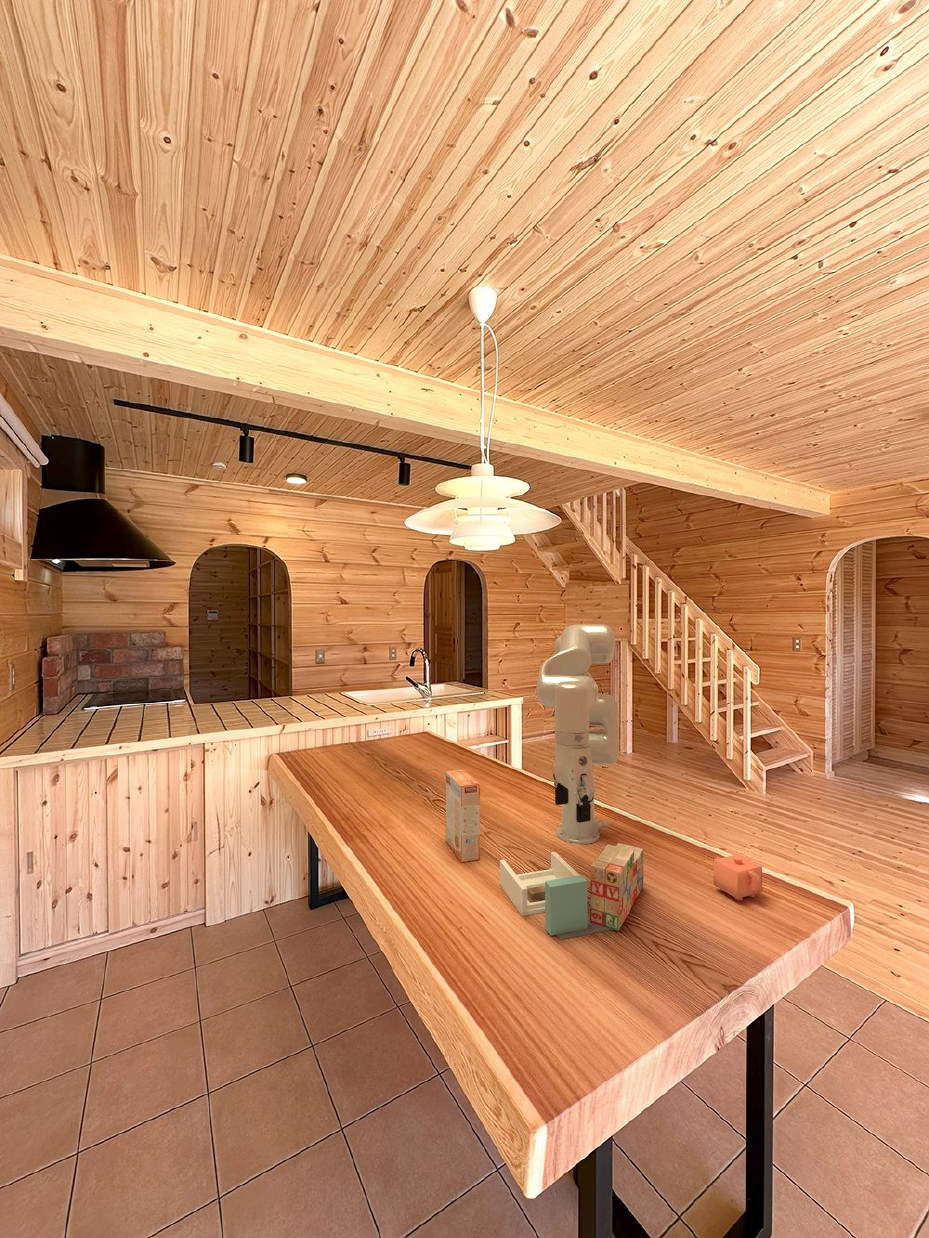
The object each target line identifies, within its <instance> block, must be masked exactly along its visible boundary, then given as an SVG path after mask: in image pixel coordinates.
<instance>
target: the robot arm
mask: <svg viewBox="0 0 929 1238" xmlns="http://www.w3.org/2000/svg"><path fill="white" fill-rule="evenodd" d="M553 647H554V655H552V656H550V657H549V658H548V659H546V660H545V661H544V662H543V663H542V664H541V666H540V668H539V671H538V676H537V682H536V691H535V692H536V693H535V694H536V698H537V701H538V702H539V704H540V705H542V706H544V707H549V708H554V744H555V747H554V759H553V760H554V762H553V763H552V764H551V768H552V773H553V774H552V777H553V780H554V782H553V785H554V803H555V805H556V806H560V805H561V825H560V826H558V827H557V828H556V836H557V837H558V838H559V839H560V840H561V841H563V842H564V841H565V842H568V843H570V844H577V845H578V844H580V845H590V844H593V843H596V842H598V841H599V840H600V837H601V836H600V834H601V833H600V831H599V830H601V829H605V828H609V827H610V822H609V821H608V820H601V819H600V818H595V793H596V788H595V777H594V771H593V770H594V769H593V764H594V765H614V764H616V763H617V762H618V760H619V757H620V730H619V729H620V727H619V722H620V721H619V720H620V719H619V718H620V717H619V707H618V706H619V705H618V702H617V699H616V698H615V697H614V696H613V695H611V694H605V693H599V687H598V684H597V683H596V681H595V679H594V678H593V677H592V675H591V673H590V672H589V669H590V667H591V665H592V664H598V665H599V664H601V665H603V664H604V665H605V664H609V663H612V661H613V659H614V656H615V649H616V637H615V633H614V631H613V629H612V627H611V626H609V625H607V624H598V623H597V624H595V623H593V624H592V623H589V624H588V623H587V624H586V623H585V624H583V623H581V624H580V623H579V624H578V623H577V624H576V623H575V624H571V625H568V626H566V627H565V628H564V629H563V631H562V633H561V635H560V636H559V637H557V638H556V639H555V641H554V646H553ZM590 726H591V727H600V728H601V729H603V730H591V729H590Z"/></svg>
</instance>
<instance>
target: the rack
mask: <svg viewBox="0 0 929 1238" xmlns="http://www.w3.org/2000/svg"><path fill="white" fill-rule="evenodd" d="M578 875H580V874H579V873H578V872H577V871H576V870H575V869H574V868H573V867H572V866H571V865H570V864H568V862H566V861H565V859H564V858H562V857H561V855H559V854H558V853H557V852H556V851H552V852H550V868H549V869H544V870H538V871H532V872H526V873H525V872H524V873H519V874H516V872H514V870H513V869H512V868H511V866H510V865H509V864H508V863H507V861H506V859H500V860H499V885H500V887H501V888H502V890H503V891H504V892H505V893H506V895H507V896H508V898H509V900H511V902H512V903H513V906H514V907H515V908H516V909H517V911H518V912H519V913H520V915H521V916H522V917H525V916H529V915H536V914H537V915H538V914H542V913H545V900H544V901H538V902H533V903H530V902H529V901H528V900H527V888H532V887H538V886H544V887H545V881H549V880H555V879H560V878H566V877H572V876H578Z"/></svg>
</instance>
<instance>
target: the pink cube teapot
mask: <svg viewBox="0 0 929 1238" xmlns="http://www.w3.org/2000/svg"><path fill="white" fill-rule="evenodd" d="M713 885H714V886H715V887H717V888H719V889H720V891H721V892H723V893H727V894H728V895H730V896H732V897H733V898H734V899H735V901H740V902H742V901H743V900H744V899H743V898H746V897H749V898H756V895H757V894H760V893H763V866H761V865H760V864H758V863H756V862H754V861H752V860H750V859H748V858H746V857H744V856H742V855H740V854H732V855H728V856H725V857H721V856H716V857H714V859H713Z"/></svg>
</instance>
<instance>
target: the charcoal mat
mask: <svg viewBox="0 0 929 1238" xmlns="http://www.w3.org/2000/svg"><path fill="white" fill-rule="evenodd" d="M610 931H614V929H611V928H608V927H605V926H602V925H599V924H596V923H593V922H590V913H588V928H586V929H581V930H576V931H571V932H566V933H562V934H557V935H556V937H557V938H558V940H560V941H562V940H564V941H565V940H569V939H574V938H579V937H583V936H584V937H585V936H589V935H594V934H600V933H605V932H610Z"/></svg>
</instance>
